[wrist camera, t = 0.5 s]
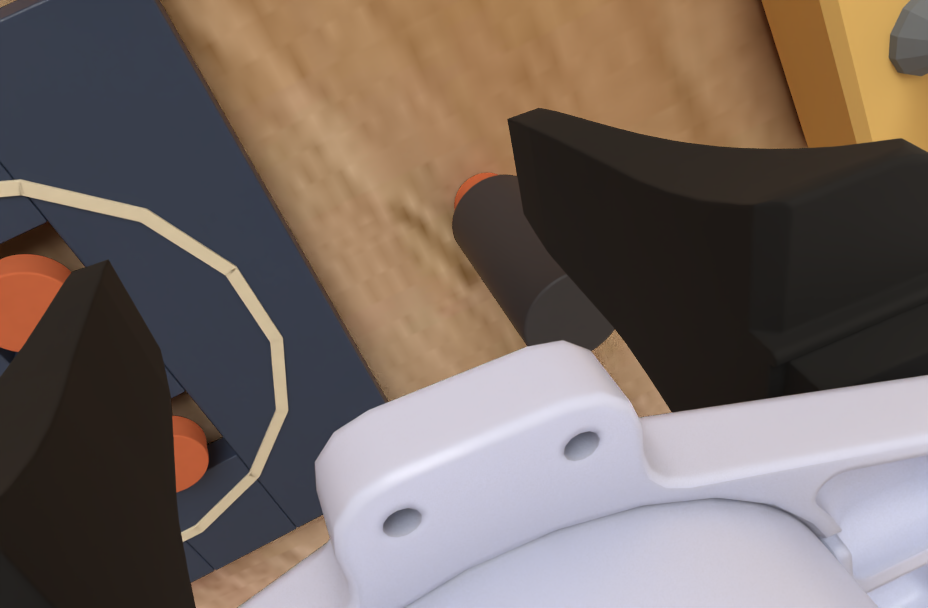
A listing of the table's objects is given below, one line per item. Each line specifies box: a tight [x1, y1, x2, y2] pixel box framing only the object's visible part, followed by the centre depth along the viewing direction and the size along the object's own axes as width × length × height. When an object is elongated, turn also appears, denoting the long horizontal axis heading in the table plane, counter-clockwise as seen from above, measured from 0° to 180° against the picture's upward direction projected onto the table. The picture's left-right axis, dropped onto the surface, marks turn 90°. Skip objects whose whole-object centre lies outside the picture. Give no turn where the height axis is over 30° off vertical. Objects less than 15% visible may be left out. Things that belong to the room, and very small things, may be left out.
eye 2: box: [172, 416, 209, 492], centre depth 27 cm, size 3×3×1 cm
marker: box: [452, 173, 614, 351], centre depth 25 cm, size 3×3×7 cm
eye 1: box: [0, 254, 71, 352], centre depth 22 cm, size 3×3×1 cm
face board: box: [0, 0, 388, 582], centre depth 25 cm, size 20×18×1 cm
